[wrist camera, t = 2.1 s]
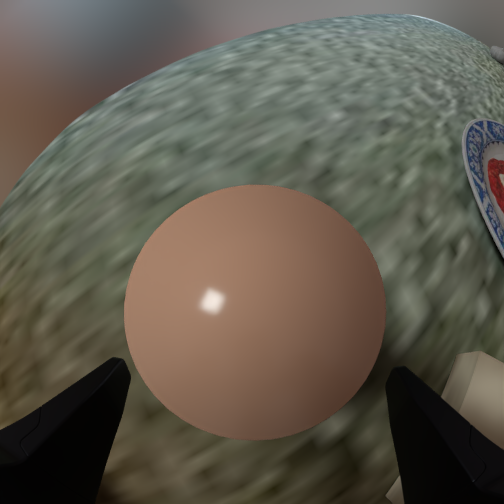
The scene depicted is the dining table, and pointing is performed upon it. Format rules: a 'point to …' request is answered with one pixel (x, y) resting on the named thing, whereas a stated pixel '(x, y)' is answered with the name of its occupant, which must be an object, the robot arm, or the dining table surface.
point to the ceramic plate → (486, 172)
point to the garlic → (497, 54)
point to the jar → (255, 312)
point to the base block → (472, 400)
